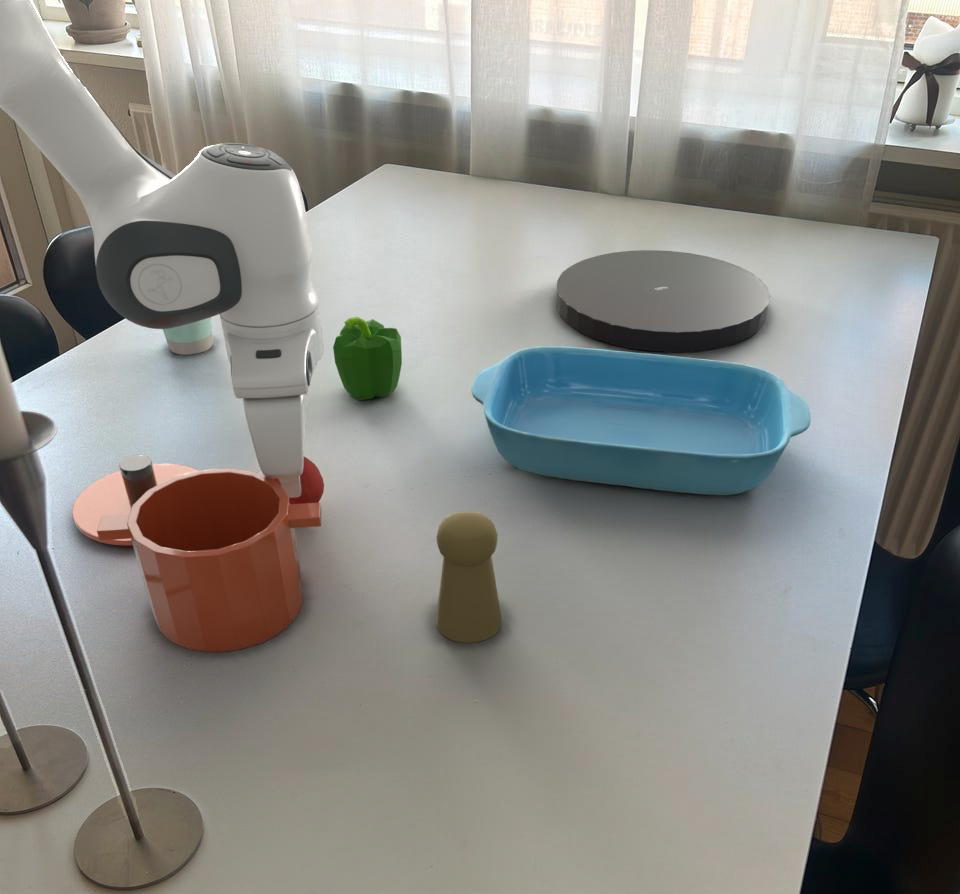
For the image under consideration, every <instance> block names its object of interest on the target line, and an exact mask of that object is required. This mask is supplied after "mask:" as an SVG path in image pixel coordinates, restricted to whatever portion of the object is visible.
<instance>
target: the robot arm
mask: <svg viewBox="0 0 960 894" xmlns="http://www.w3.org/2000/svg"><path fill="white" fill-rule="evenodd" d="M0 109H1V110H2V111H4V112H5V114H7V115H8V116H9V118H11V119H12V120H13V121H14V122H15V123H16V124H17V125H18V126H19V128H20V129H21V130H22V131H23V132H24V134H25V135H26V136H27V137H28V138H29V139H30V140H31V141H32V143H33V144H34V145H35V146H36V147H37V149H38V150H39V151H40V152H41V153H42V154H43V155H44V157H45V158H46V159H47V160H48V161H49V162H50V163H51V165H52V166H53V167H54V168H55V170H57V172H58V173H59V174H60V175H61V176H62V177H63V178H64V179H65V181H66V182H67V183H68V184H69V185H70V186H71V188H72V189H73V190H74V191H75V193H76V195H77V196H78V198H79V200H80V202H81V203H82V206H83V208H84V211H85V212H86V216H87V218H88V223H89V226H90V230H91V234H92V237H93V244H94V246H93V250H94V262H95V273H96V274H95V275H96V280H97V284H98V287H99V289H100V291H101V293H102V295H103V297H104V299H105V301H106V302H107V303H108V305H110V306H111V308H112V309H113V310H114V311H116V313H117V314H118V315H120V316H121V317H123V318H124V319H126V320H127V321H129V322H130V323H133V324H135V325H137V326H139V327H143V328H148V329H154V330H163V329H169V328H174V327H179V326H182V325H186V324H190V323H194V322H197V321H200V320H204V319H207V318H210V317H211V318H212V317H215V316H218V315H219V318H220V323H221V329H222V333H223V338H224V344H225V349H226V355H227V361H228V362H229V364H230V378H231V384H232V385H231V386H232V390H233V394H234V397H235V398H236V399H242V403H243V409H244V415H245V419H246V424H247V427H248V431H249V435H250V438H251V442H252V446H253V449H254V452H255V457H256V460H257V463H258V466H259V469H260V471H261V474H263V475H265V477H267V478H278V479H279V481H280V483H281V487H282V488H283V490H284V491H285V492H286V494H287V495H288V497H289V498H295V497H299V496H301V489H302V485H301V478H300V475H301V474H302V473H303V466H304V465H303V459H304V457H305V443H306V442H305V440H306V439H305V438H306V423H307V407H308V393H309V390H310V386H311V381H312V376H313V374H314V371H315V369H316V367H317V365H318V362H319V361H320V360H321V359H322V358H323V356H324V354H325V345H324V338H323V329H322V323H321V314H320V305H319V298H318V295H317V292H316V290H315V288H314V285H313V283H312V278H311V276H312V275H311V265H312V261H313V249H312V242H311V234H310V229H309V222H308V217H307V211H306V205H305V201H304V197H303V194H302V188H301V185H300V183H299V180H298V178H297V175H296V173H295V171H294V169H293V168H292V166H290V164H289V163H287V161H286V160H284V158H283V157H281V156H280V155H279V154H277V153H275V152H274V151H273V150H271V149H267V148H263V147H261V146H259V145H258V146H257V145H253V144H247V143H241V142H240V143H238V142H223V143H218V144H212V145H209V146H205V147H203V148H202V149H201V150H200V151H199V153H198V154H197V155H196V157H195V158H194V160H193V161H192V162H191V163H190V164H189V165H187V166H186V167H185V168H184V169H183V170H182V171H181V172H179V173H178V174H177V175H176V174H175V173H174V172H172V171H171V170H169V169H168V168H166V167H164V166H162V165H161V164H159V163H157V162H155V161H154V160H153V159H151V158H149V157H148V156H146V155H145V154H143V153H142V152H141V151H140V150H138V149H137V148H136V146H134V145H133V144H131V142H130V141H129V140H128V139H127V137H126V136H125V135H124V134H123V132H122V131H121V130H120V129H119V128H118V127H117V125H116V124H115V123H114V121H113V120H112V119H111V117H110V116H109V115H108V114H107V112H106V111H105V110H104V108H103V107H102V106H101V105H100V104H99V102H98V101H97V100H96V98H95V97H94V96H93V94H92V93H91V92H90V91H89V90H88V88H87V87H86V86H85V83H83V81H82V80H81V79H80V78H79V76H78V75H77V74H76V73H75V71H74V70H73V68H72V67H71V66H70V65H69V64H68V62H67V61H66V60H65V58H64V57H63V56H62V53H60V51H59V49H58V47H57V46H56V44H55V42H54V41H53V39H52V37H51V35H50V34H49V32H48V30H47V28H46V26H45V24H44V22H43V20H42V18H41V16H40V14H39V12H38V10H37V8H36V6H35V4H34V2H33V0H0Z"/></svg>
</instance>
